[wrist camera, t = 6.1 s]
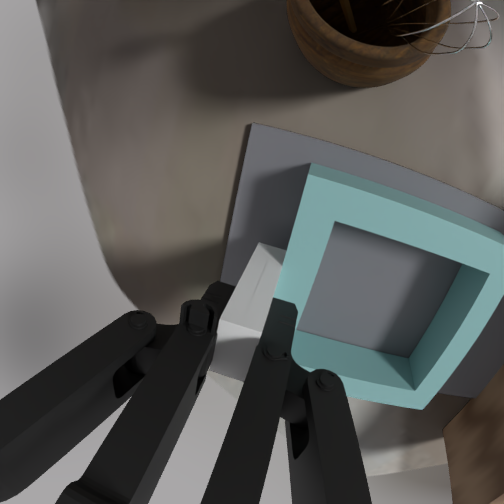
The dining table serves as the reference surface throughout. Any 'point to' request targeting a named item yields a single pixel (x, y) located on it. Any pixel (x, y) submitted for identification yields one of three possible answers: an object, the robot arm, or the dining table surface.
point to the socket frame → (410, 232)
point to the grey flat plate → (360, 253)
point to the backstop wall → (478, 447)
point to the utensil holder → (372, 36)
